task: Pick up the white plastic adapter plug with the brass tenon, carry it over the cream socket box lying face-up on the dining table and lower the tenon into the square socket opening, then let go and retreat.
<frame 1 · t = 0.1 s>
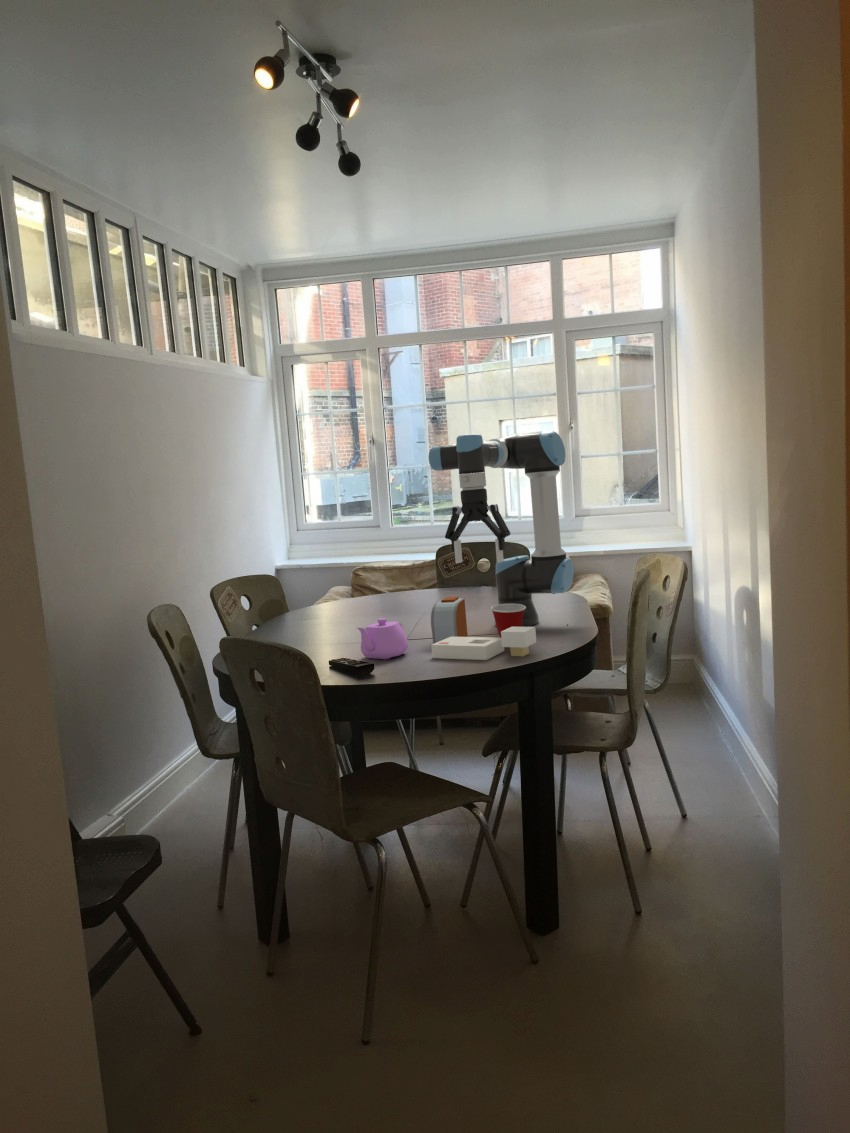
hand: (479, 562, 258), 28 cm above the table, fingers open, 13 cm apart
socket: (468, 654, 266), on the table
teapot: (383, 657, 274), on the table
plug: (520, 654, 260), on the table
plastic cup: (511, 644, 276), on the table
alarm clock: (451, 641, 290), on the table
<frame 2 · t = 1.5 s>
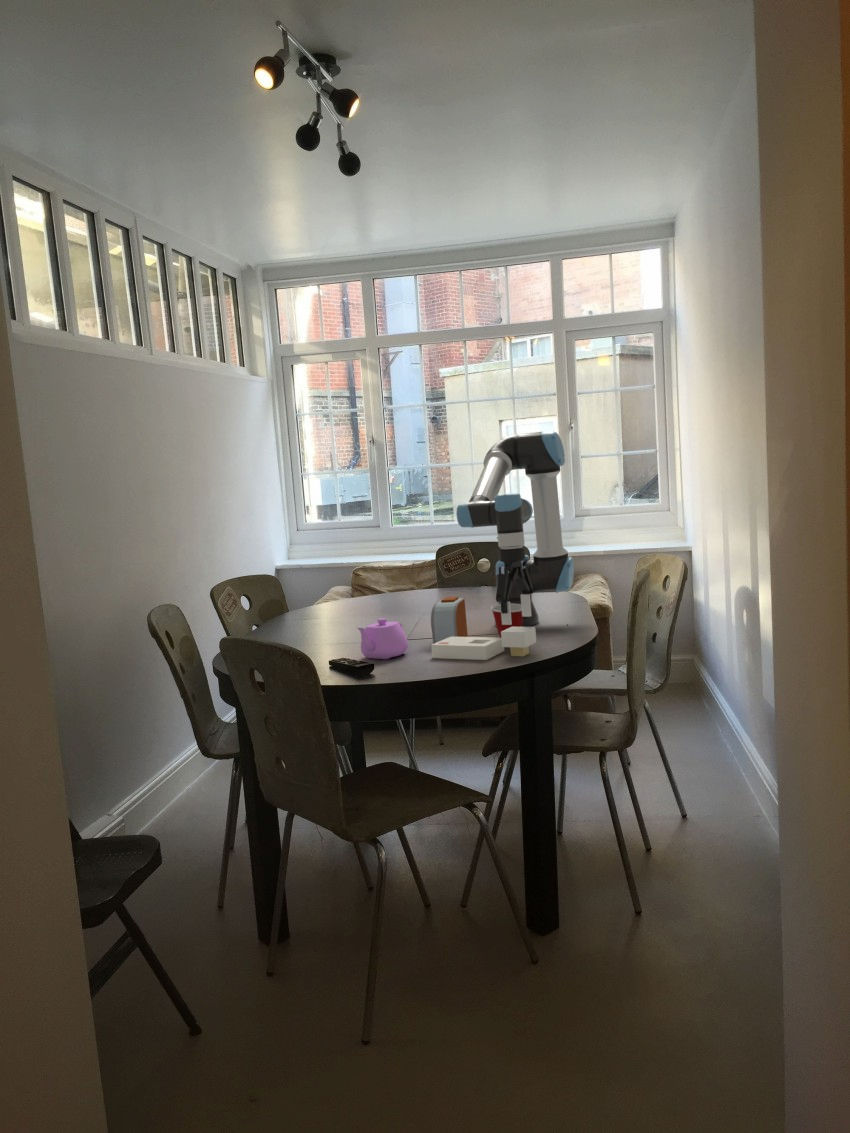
hand: (517, 620, 258), 10 cm above the table, fingers open, 13 cm apart
nothing on the table moved.
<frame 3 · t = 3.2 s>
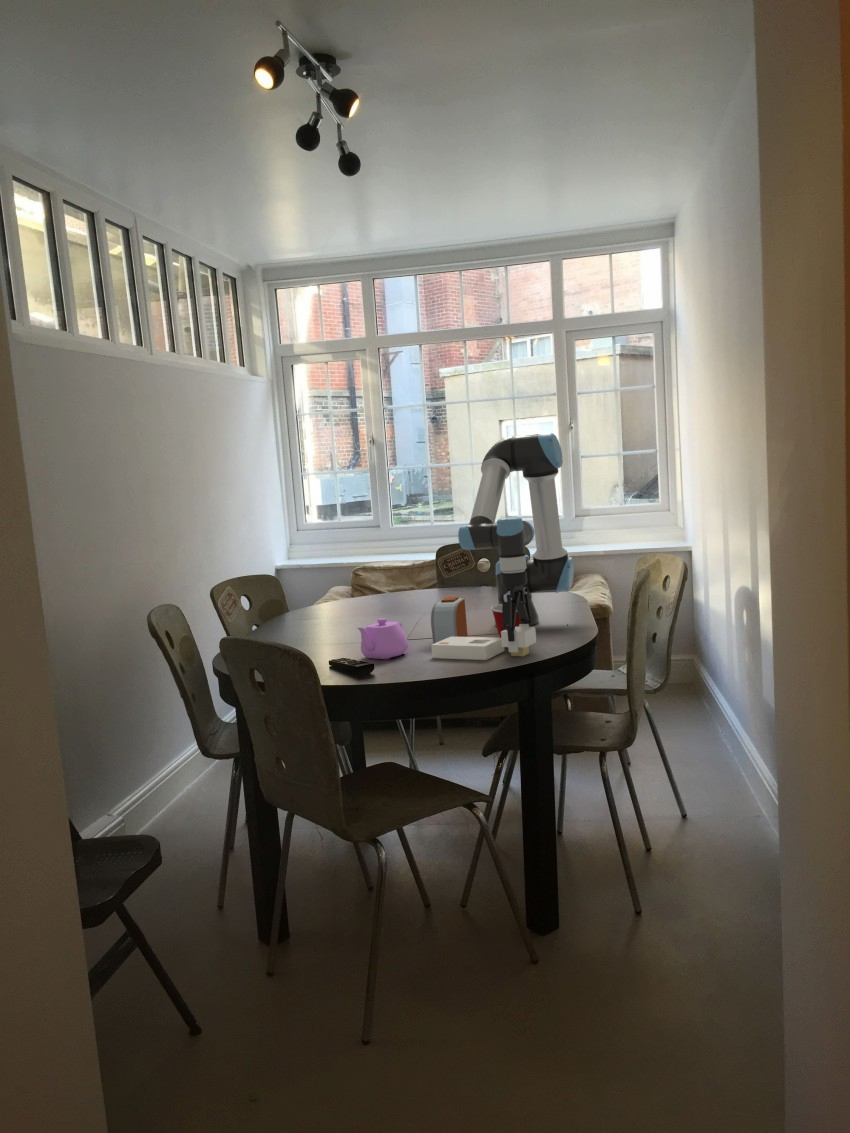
hand: (519, 648, 260), 2 cm above the table, fingers closed on plug, 7 cm apart
plug: (520, 654, 260), on the table, touching gripper
everything else where it was.
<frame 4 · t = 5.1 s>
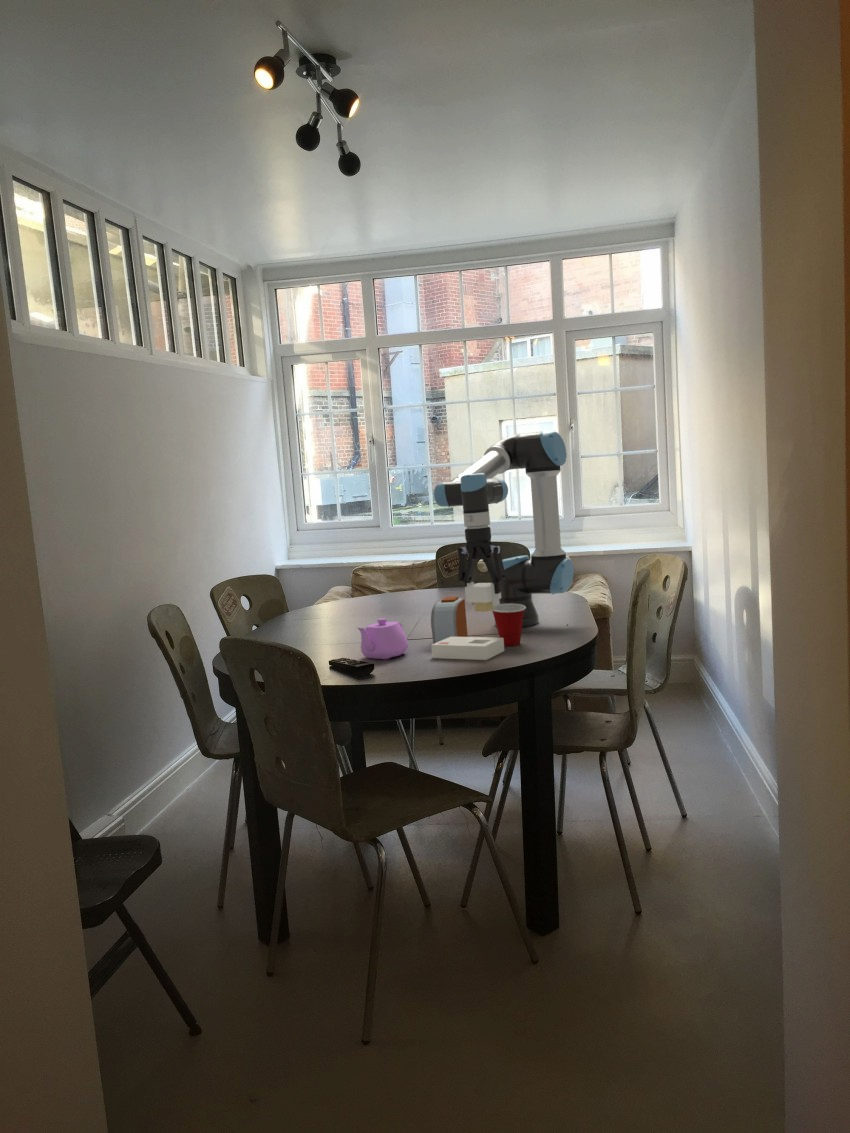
hand: (484, 604, 262), 15 cm above the table, fingers closed on plug, 7 cm apart
plug: (484, 610, 262), point 13 cm above the table, touching gripper
everything else where it was.
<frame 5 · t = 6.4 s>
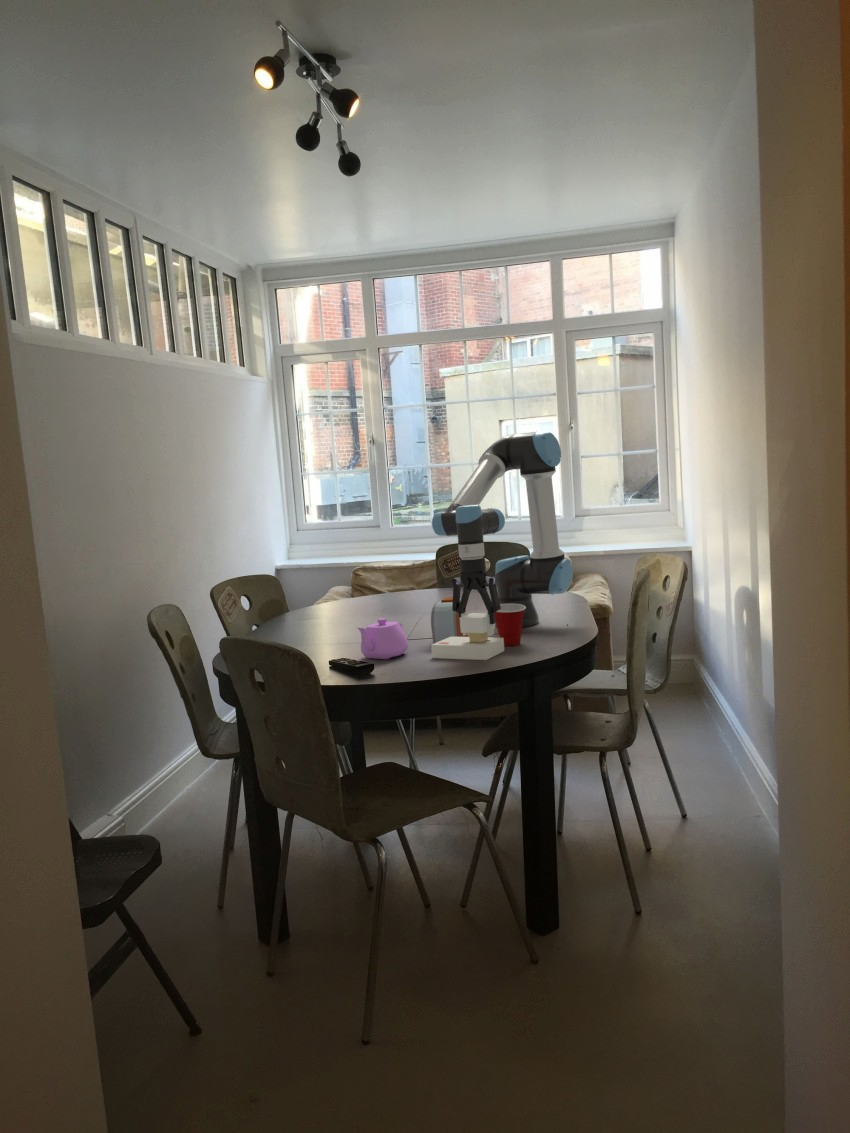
hand: (478, 634, 264), 6 cm above the table, fingers closed on plug, 7 cm apart
plug: (478, 640, 264), point 4 cm above the table, touching gripper
everything else where it was.
when the fingers open (4 cm above the table, at t = 7.4 s): plug drops 2 cm, resting on socket.
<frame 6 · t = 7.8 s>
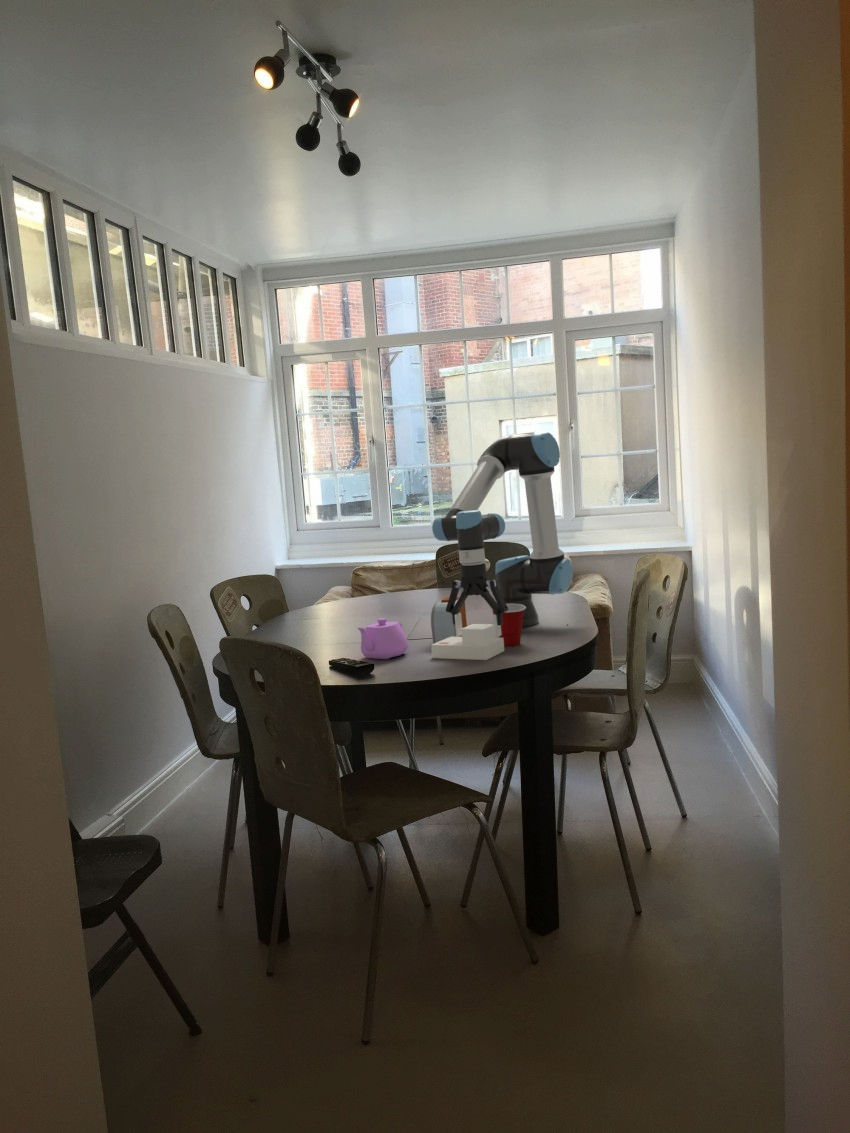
hand: (478, 635, 264), 6 cm above the table, fingers open, 12 cm apart
plug: (480, 651, 264), point 1 cm above the table, touching socket
everything else where it was.
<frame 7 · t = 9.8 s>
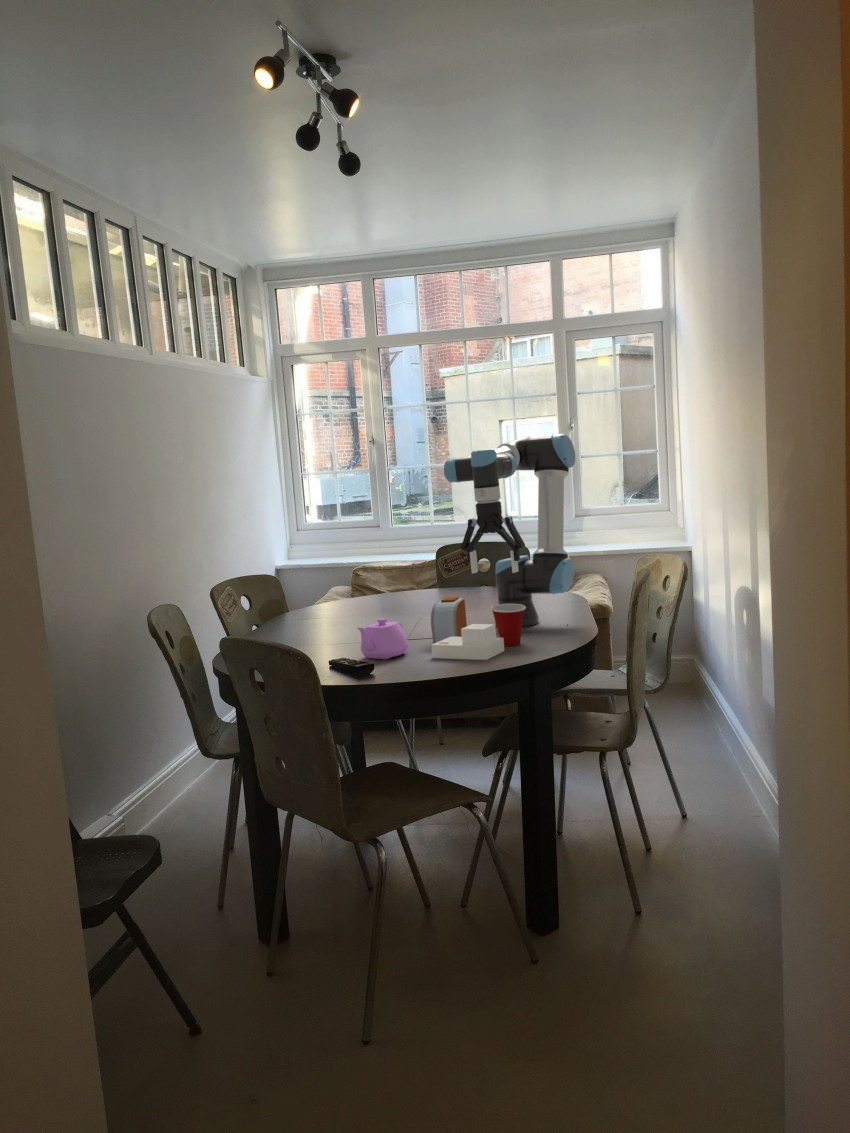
hand: (494, 572, 267), 23 cm above the table, fingers open, 13 cm apart
nothing on the table moved.
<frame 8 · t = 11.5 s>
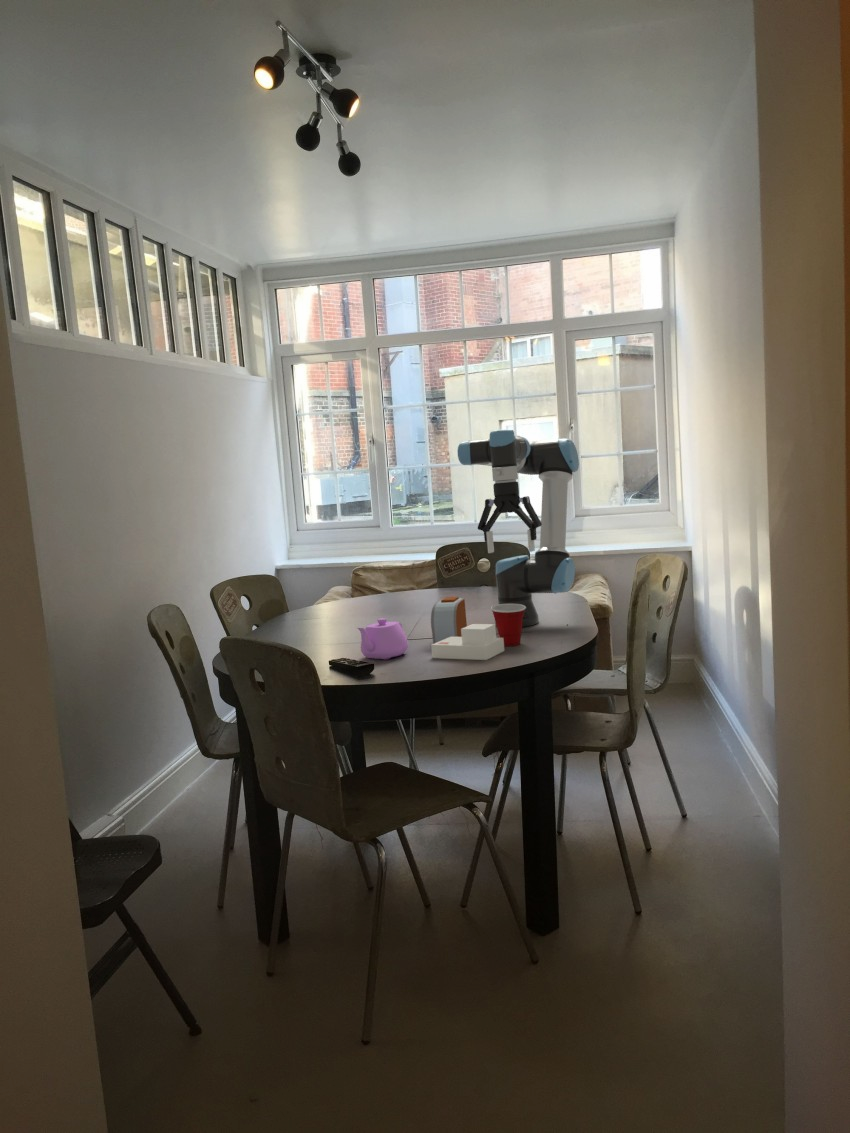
hand: (511, 552, 270), 29 cm above the table, fingers open, 13 cm apart
nothing on the table moved.
at the end: plug 0.0 cm from the target spot on the socket, point 1.0 cm above the socket's base; plug tilted 0°; the gripper is holding nothing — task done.
